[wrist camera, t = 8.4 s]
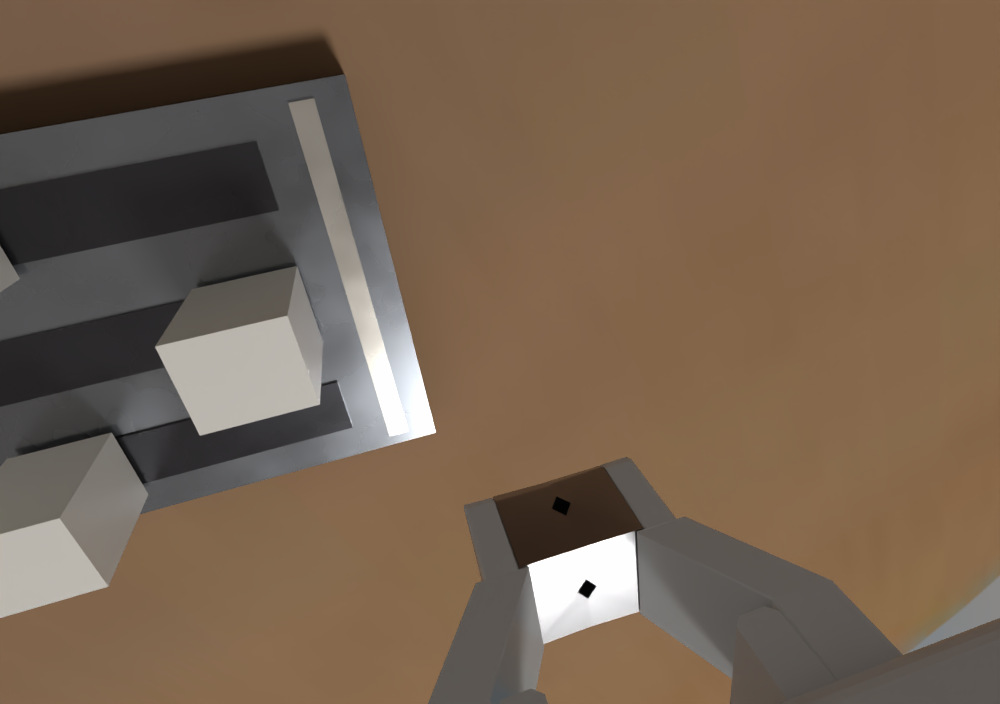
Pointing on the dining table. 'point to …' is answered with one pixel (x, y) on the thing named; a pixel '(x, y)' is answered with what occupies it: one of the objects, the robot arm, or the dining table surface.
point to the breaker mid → (244, 350)
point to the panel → (197, 281)
